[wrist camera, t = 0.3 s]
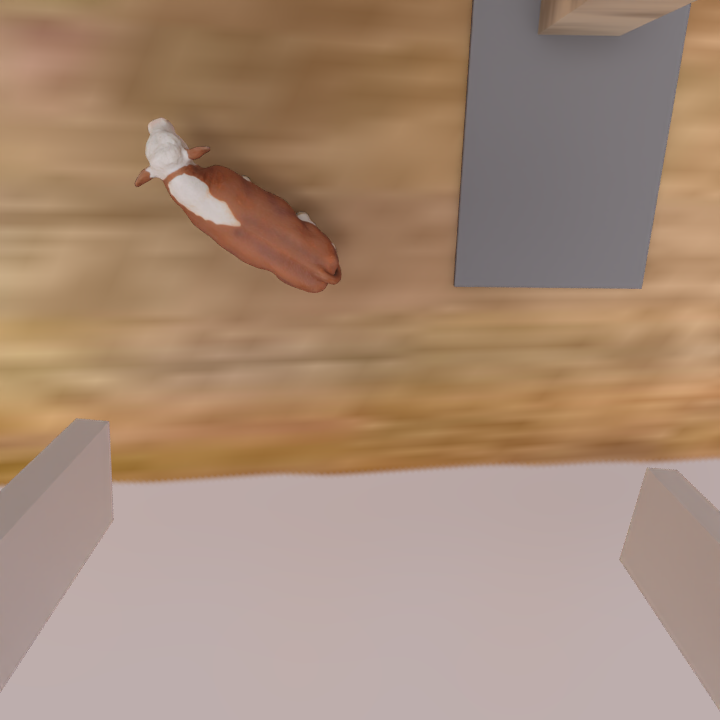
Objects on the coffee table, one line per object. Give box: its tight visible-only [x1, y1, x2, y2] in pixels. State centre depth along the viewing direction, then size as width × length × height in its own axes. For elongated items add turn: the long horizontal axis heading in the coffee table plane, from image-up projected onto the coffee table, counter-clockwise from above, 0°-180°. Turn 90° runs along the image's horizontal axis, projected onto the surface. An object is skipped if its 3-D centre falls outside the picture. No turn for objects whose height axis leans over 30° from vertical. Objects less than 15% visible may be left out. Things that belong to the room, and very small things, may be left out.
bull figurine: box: [135, 118, 341, 293], centre depth 35 cm, size 4×13×8 cm, turn 51°
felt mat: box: [454, 0, 691, 289], centre depth 37 cm, size 22×13×1 cm, turn 179°
